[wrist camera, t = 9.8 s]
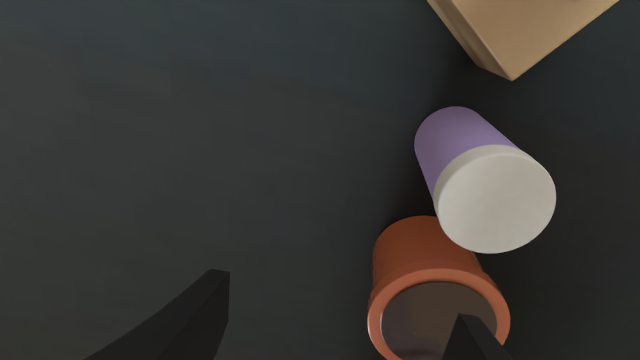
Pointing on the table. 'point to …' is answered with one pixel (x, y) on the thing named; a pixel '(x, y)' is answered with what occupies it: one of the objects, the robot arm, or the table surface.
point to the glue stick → (482, 182)
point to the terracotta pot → (427, 291)
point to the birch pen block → (515, 29)
